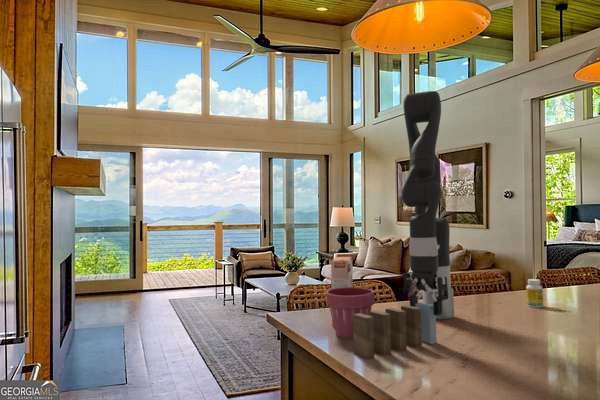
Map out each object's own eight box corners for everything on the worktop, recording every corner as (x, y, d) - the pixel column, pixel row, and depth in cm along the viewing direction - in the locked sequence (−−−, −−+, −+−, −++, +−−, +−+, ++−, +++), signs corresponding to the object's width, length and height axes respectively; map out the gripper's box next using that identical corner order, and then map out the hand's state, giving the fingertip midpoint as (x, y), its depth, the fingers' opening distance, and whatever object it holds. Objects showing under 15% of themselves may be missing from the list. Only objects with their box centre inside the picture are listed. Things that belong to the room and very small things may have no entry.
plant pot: (363, 343, 130) (361, 296, 130) (318, 337, 137) (317, 293, 137) (383, 331, 142) (381, 288, 142) (341, 326, 149) (339, 285, 149)
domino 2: (377, 348, 124) (376, 310, 124) (391, 353, 120) (389, 313, 120) (370, 350, 123) (369, 311, 123) (384, 355, 119) (383, 314, 119)
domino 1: (360, 352, 121) (359, 313, 122) (374, 357, 117) (372, 316, 117) (354, 354, 120) (352, 314, 120) (367, 359, 116) (365, 317, 116)
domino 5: (422, 338, 133) (421, 302, 133) (436, 342, 128) (435, 305, 129) (416, 339, 132) (415, 303, 132) (430, 343, 127) (429, 306, 127)
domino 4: (407, 341, 130) (406, 305, 130) (422, 346, 125) (420, 308, 126) (402, 343, 129) (400, 306, 129) (415, 347, 124) (414, 309, 125)
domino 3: (392, 345, 127) (391, 307, 127) (406, 349, 123) (405, 310, 123) (386, 346, 126) (385, 308, 126) (400, 351, 121) (398, 312, 122)
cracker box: (350, 327, 148) (348, 260, 148) (331, 327, 149) (329, 260, 150) (354, 317, 162) (352, 256, 162) (337, 317, 163) (335, 256, 163)
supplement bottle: (530, 304, 175) (529, 278, 175) (545, 306, 171) (544, 279, 171) (524, 306, 171) (523, 280, 172) (540, 308, 167) (538, 281, 168)
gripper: (395, 252, 135) (397, 310, 134) (433, 256, 123) (435, 319, 122) (414, 250, 139) (416, 306, 138) (453, 254, 126) (455, 315, 126)
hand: (425, 312), depth 130 cm, fingers open, 8 cm apart
